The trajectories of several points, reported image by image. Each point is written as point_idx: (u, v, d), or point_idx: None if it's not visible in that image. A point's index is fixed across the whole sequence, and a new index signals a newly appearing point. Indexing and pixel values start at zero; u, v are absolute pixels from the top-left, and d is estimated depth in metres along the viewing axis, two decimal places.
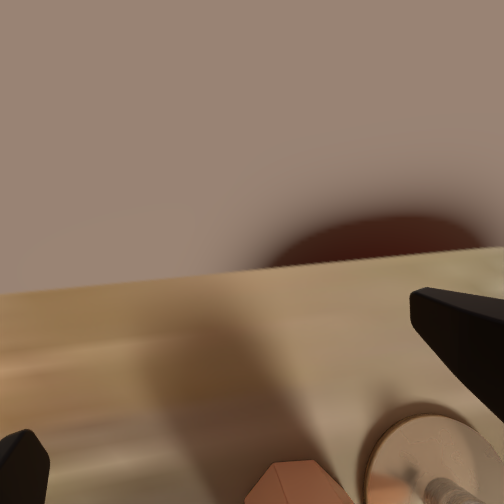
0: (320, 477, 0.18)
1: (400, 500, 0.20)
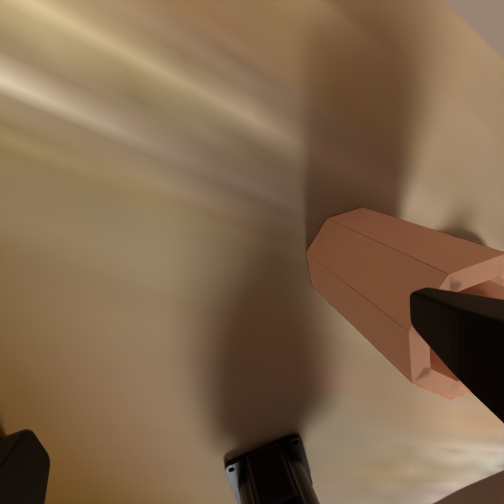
0: None
1: None
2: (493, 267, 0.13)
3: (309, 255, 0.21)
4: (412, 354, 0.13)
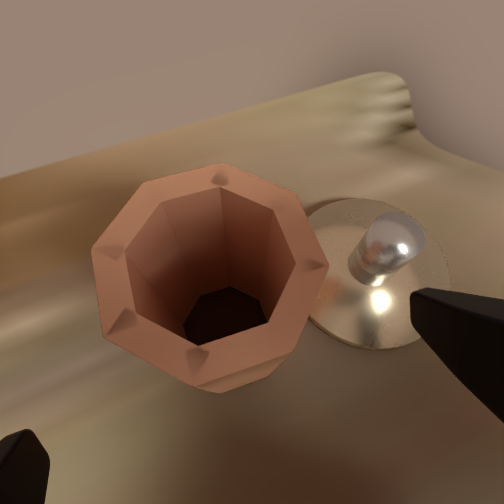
0: None
1: None
2: (143, 201, 0.10)
3: None
4: (146, 354, 0.08)
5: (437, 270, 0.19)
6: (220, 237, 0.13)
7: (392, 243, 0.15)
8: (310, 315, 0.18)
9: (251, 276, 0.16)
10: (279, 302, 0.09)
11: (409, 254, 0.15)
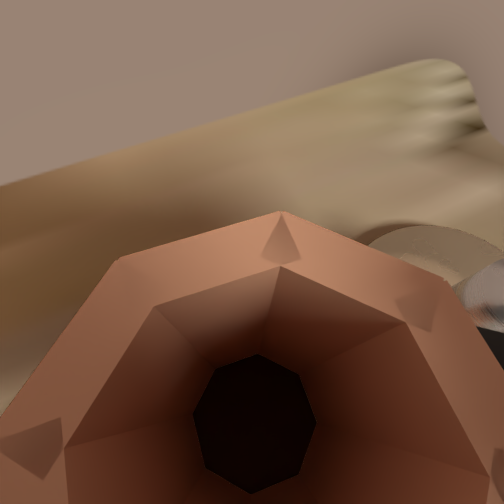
0: None
1: None
2: (116, 307, 0.04)
3: None
4: None
5: None
6: (259, 321, 0.08)
7: None
8: None
9: (296, 358, 0.11)
10: None
11: None
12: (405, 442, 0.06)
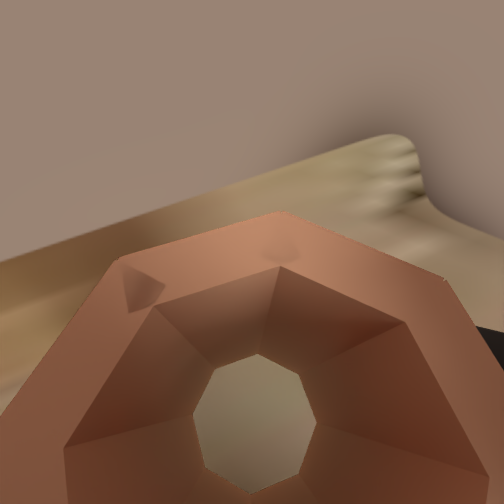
0: None
1: None
2: (115, 307, 0.04)
3: None
4: None
5: None
6: (259, 321, 0.08)
7: None
8: None
9: (295, 358, 0.11)
10: None
11: None
12: (405, 442, 0.06)
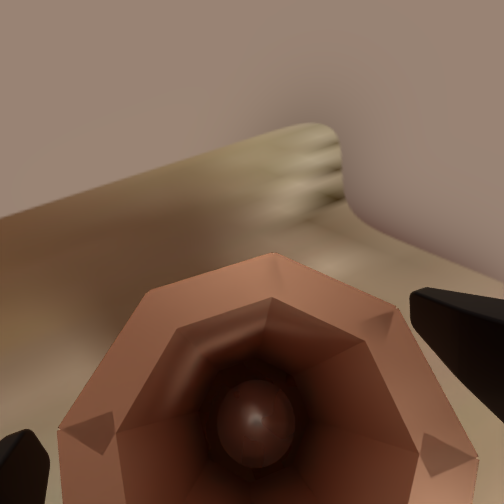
0: None
1: None
2: (148, 329, 0.06)
3: None
4: None
5: None
6: (256, 333, 0.09)
7: (244, 438, 0.10)
8: None
9: (289, 362, 0.12)
10: None
11: (267, 460, 0.10)
12: (371, 432, 0.07)
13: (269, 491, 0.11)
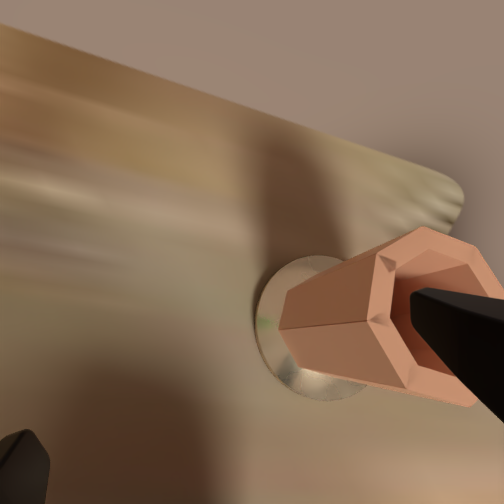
0: None
1: None
2: (418, 241, 0.13)
3: (280, 329, 0.20)
4: (386, 349, 0.11)
5: None
6: (406, 277, 0.16)
7: None
8: (257, 329, 0.21)
9: None
10: None
11: None
12: None
13: None
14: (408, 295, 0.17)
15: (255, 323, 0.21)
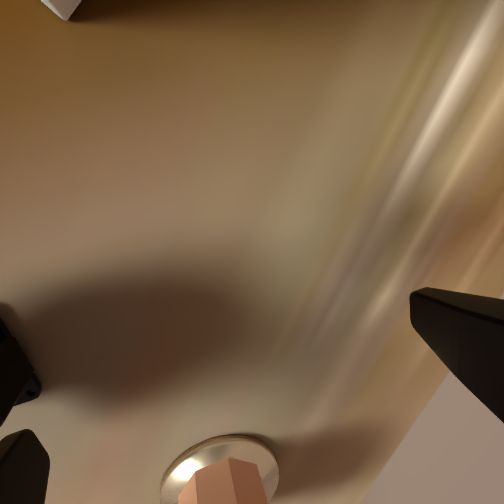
0: None
1: None
2: None
3: (230, 464, 0.24)
4: None
5: None
6: None
7: None
8: (232, 441, 0.25)
9: None
10: None
11: None
12: None
13: None
14: None
15: (236, 437, 0.25)
